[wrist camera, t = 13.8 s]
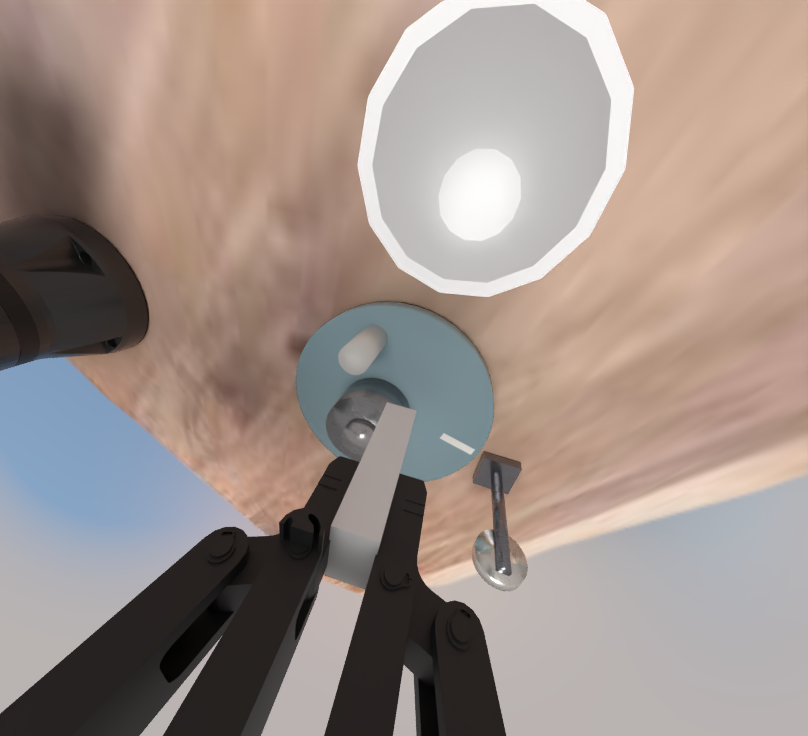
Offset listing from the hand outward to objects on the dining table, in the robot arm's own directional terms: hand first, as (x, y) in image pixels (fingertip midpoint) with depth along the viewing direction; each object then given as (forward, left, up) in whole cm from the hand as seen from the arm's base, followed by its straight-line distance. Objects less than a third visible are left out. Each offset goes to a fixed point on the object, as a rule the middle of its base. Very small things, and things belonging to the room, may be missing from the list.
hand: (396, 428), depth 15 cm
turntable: (-2, -8, -15) cm, 17 cm away
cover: (-4, -8, -12) cm, 15 cm away
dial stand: (+11, -14, -15) cm, 23 cm away
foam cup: (+1, +11, -15) cm, 19 cm away
